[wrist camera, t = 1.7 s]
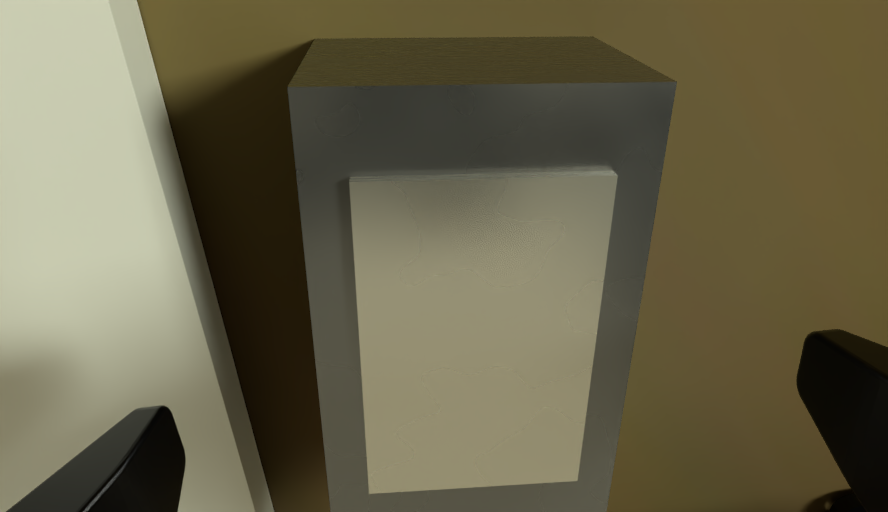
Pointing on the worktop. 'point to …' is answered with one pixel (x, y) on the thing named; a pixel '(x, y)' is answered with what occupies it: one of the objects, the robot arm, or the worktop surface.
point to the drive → (475, 263)
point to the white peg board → (105, 261)
